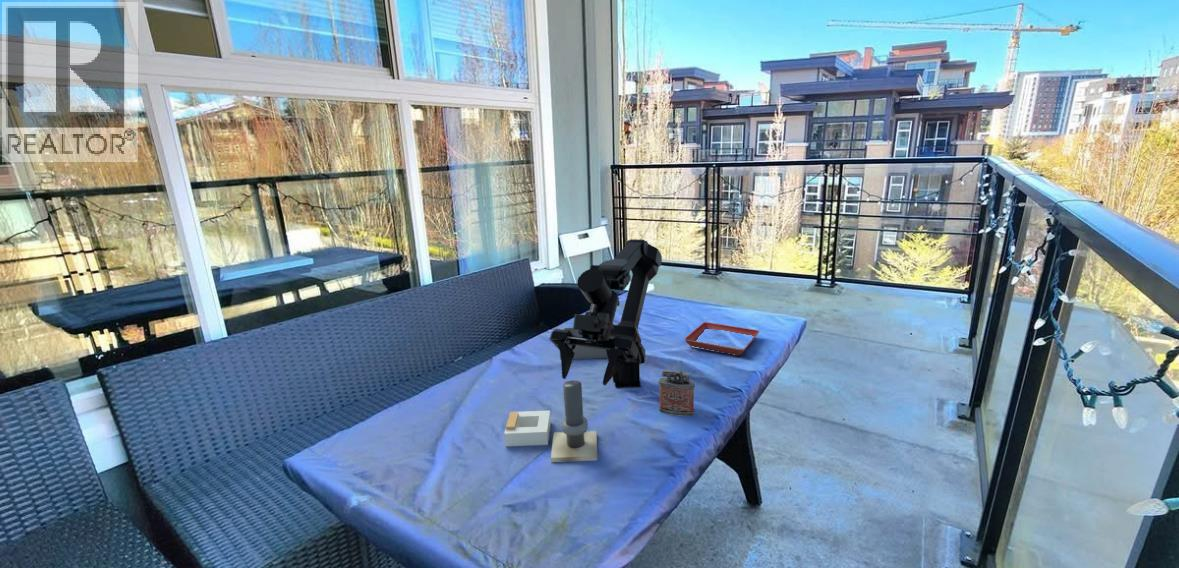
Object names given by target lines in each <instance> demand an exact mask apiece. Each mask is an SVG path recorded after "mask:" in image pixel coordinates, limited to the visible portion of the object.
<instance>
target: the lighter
mask: <svg viewBox="0 0 1179 568" xmlns="http://www.w3.org/2000/svg"><path fill="white" fill-rule="evenodd" d="M658 385H659V406H658V412H660V413H662V414H666V415H672V416H679V417H681V416H682V417H693V416H694V415H695V407H694V406H695V405H694V404H695V398H694V397H695V386H696V384H695V381H693V380H690V373H689V372H682V370H680V369H678V370H676V371H673V370H668V369H667V370H666V369H663V370H662V371H661V378H659V379H658Z"/></svg>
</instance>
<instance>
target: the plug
mask: <svg viewBox="0 0 1179 568" xmlns="http://www.w3.org/2000/svg"><path fill="white" fill-rule="evenodd" d="M562 387H563V401H564V402H563V403H564V405H563V406H564V416H565V417H564V418H563V419H562V420H561V432H563V433H565V434H566V437H567V445H568V446H569V447H571V448H579V447H582V446H583V445H584V444H585V440H584V433H585V432H586V431H588V430H589V427H588V424H589V423H588V419H587V418H586V417H585V416H584V409H583V408H584V407H583V405H584V404H583V390H582V382H581V381H579V380H568V381H566V382H564V383H563V384H562Z"/></svg>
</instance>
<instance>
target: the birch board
mask: <svg viewBox="0 0 1179 568" xmlns="http://www.w3.org/2000/svg"><path fill="white" fill-rule="evenodd" d="M584 440H585V444H584V445H583V446H582V447H579V448H571V447H569V446H568V445H567V437H566V434H565V433H563V431H561V432H553V437H552V444H551V445H552V446H551V454H550V455H551V456H550V462H551V463H565V462H566V463H567V462H569V463H570V462H587V461H589V462H590V461H591V462H592V461H598V441H597V430H591V431H590V430H589V431H588V430H587V431H586V432H585V433H584Z"/></svg>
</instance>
